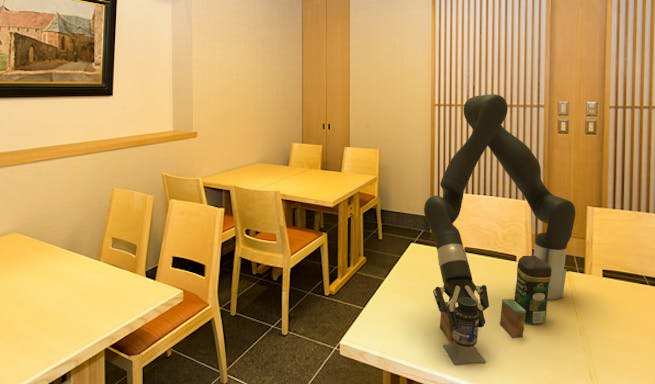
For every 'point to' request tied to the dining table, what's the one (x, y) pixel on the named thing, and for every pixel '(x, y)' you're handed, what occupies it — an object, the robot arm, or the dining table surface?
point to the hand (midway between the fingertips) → (468, 327)
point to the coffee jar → (532, 288)
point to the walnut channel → (509, 320)
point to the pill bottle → (466, 322)
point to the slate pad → (463, 354)
